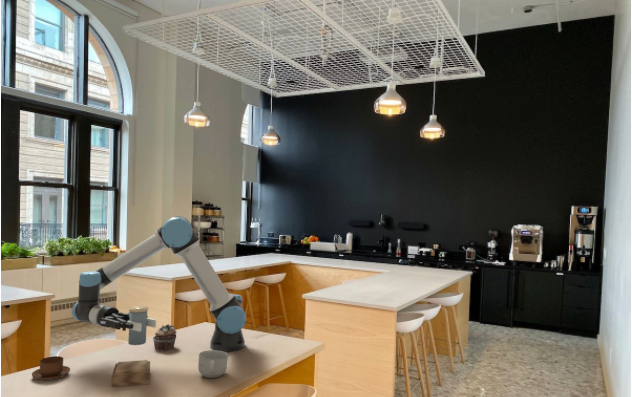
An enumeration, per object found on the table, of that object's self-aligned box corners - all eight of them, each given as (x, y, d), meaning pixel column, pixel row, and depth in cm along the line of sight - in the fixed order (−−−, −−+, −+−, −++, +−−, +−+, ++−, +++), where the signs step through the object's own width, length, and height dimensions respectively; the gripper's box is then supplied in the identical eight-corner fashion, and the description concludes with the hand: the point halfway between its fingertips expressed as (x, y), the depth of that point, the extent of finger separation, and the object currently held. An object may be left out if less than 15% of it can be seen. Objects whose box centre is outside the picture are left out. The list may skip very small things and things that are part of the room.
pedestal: (149, 371, 173) (150, 358, 173) (148, 383, 162) (149, 370, 162) (115, 374, 169) (115, 361, 169) (111, 386, 158) (111, 372, 158)
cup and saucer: (23, 379, 162) (24, 362, 162) (54, 368, 173) (54, 352, 174) (47, 385, 158) (48, 367, 158) (77, 374, 169) (78, 357, 169)
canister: (146, 339, 171) (148, 305, 171) (145, 344, 165) (147, 309, 165) (128, 340, 169) (130, 305, 169) (126, 345, 163) (128, 309, 163)
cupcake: (164, 343, 208) (165, 321, 208) (180, 347, 203) (181, 324, 204) (147, 349, 199) (148, 326, 199) (164, 353, 195) (165, 329, 195)
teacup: (202, 369, 177) (203, 348, 177) (230, 370, 177) (231, 349, 177) (191, 383, 163) (192, 360, 164) (221, 384, 163) (222, 362, 163)
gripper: (125, 320, 184) (167, 330, 173) (81, 331, 167) (125, 342, 156) (126, 302, 184) (168, 310, 173) (82, 310, 167) (126, 320, 156)
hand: (148, 325), depth 165 cm, fingers closed on canister, 6 cm apart
